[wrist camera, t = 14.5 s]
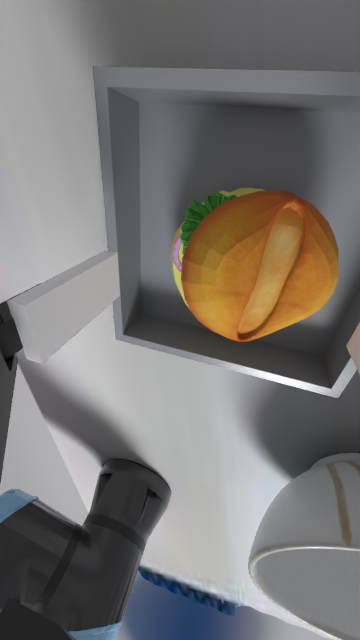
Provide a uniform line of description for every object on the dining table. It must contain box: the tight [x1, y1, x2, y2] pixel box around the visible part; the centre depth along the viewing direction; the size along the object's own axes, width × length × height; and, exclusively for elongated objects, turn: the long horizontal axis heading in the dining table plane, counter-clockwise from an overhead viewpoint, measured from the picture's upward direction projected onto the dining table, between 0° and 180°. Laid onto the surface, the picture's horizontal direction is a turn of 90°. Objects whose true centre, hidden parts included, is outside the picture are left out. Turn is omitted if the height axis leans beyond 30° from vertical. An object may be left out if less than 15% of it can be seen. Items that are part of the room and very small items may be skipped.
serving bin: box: [93, 66, 360, 398], centre depth 19 cm, size 19×20×5 cm
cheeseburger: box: [171, 188, 339, 342], centre depth 17 cm, size 10×11×10 cm
